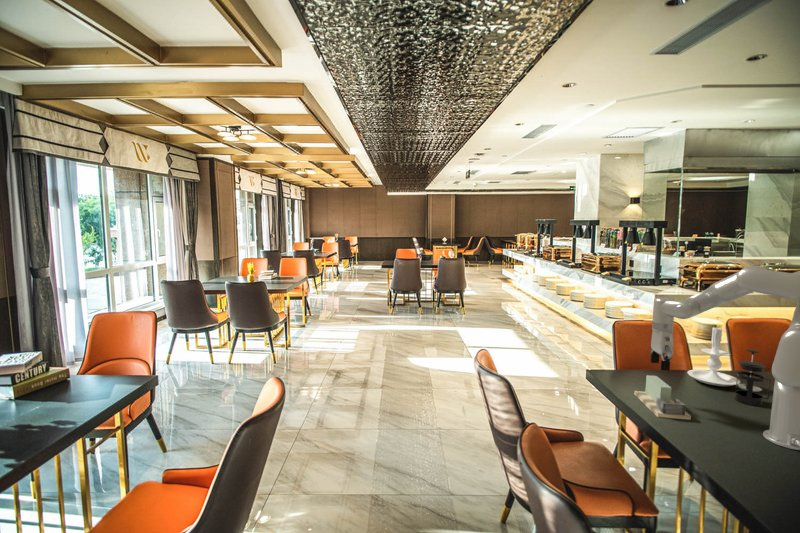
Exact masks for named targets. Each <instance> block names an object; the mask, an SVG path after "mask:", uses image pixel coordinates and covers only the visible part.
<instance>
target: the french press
mask: <svg viewBox="0 0 800 533" xmlns="http://www.w3.org/2000/svg"><path fill="white" fill-rule="evenodd" d="M746 351H747V352H750V353H751V354H750V355H751V361H750V360H749V361H748V360H739V361H738V362H737V363H738V364H739V365H740V367H741V368H742V369H743V370H745V371H737V372H736V373H737V374H736V378H737V380H739V378H740V379H742V380H746V383H739V384H737V382H736V385H735V392H734V393H735V395H734V401H736V402H738V403H740V404H744V405H746V406H751V407H761V406H763V399H764V400H769V397H770V388H771V378H769V377H765V376H763V375H762V374H759V373H763V372H764V370H765V368H766V365H764V364H762V363H760V362H755V361H753V360H754V356H755V354H756V353H757V354H758V353H760V351H759V350H756V349H746ZM756 377H757V378H756ZM765 380H767V381H768V386H767V394H766V397H765V396H763V395H764V385H765ZM754 382H759V383H761V382H762V388H760V387H759V386H755V385H754ZM737 388H738V389H739V390H737ZM759 393H761V394H759Z"/></svg>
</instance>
